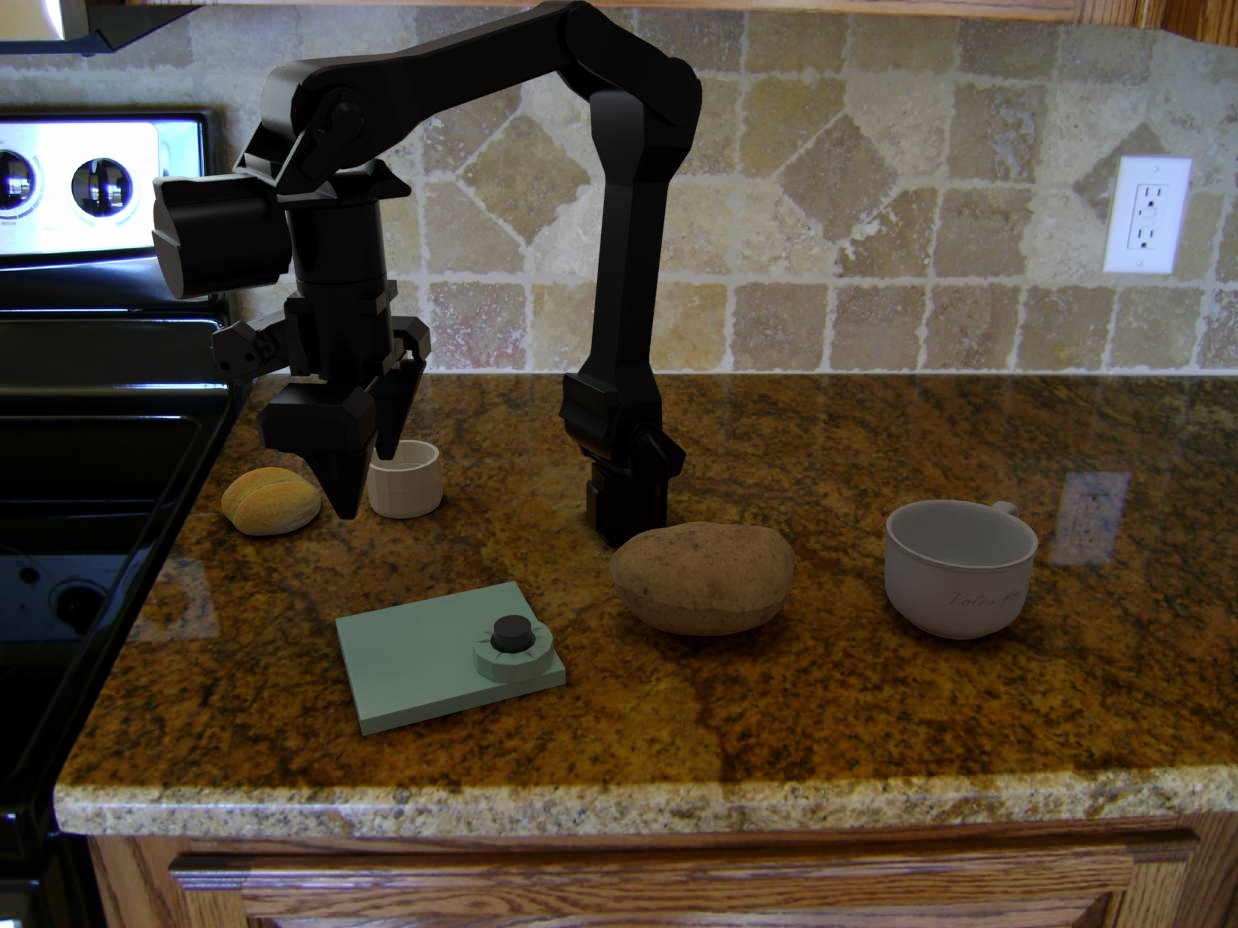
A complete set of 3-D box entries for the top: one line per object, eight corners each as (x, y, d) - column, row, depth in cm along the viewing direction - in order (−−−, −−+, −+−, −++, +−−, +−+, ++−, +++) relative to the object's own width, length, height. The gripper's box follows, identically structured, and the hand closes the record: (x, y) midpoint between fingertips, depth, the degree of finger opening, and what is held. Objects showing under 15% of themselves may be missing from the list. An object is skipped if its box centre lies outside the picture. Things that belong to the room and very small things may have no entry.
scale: (515, 595, 75) (514, 563, 74) (567, 686, 65) (566, 651, 64) (337, 633, 70) (332, 600, 69) (363, 739, 60) (358, 702, 59)
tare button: (525, 629, 67) (524, 611, 66) (536, 649, 65) (536, 631, 64) (490, 637, 66) (489, 619, 65) (500, 658, 64) (499, 639, 63)
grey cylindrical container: (433, 481, 93) (430, 435, 91) (450, 511, 88) (446, 464, 85) (364, 492, 91) (359, 446, 89) (376, 525, 85) (371, 476, 83)
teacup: (953, 675, 67) (973, 581, 63) (844, 602, 75) (857, 514, 71) (1072, 617, 73) (1096, 529, 70) (960, 555, 82) (977, 473, 78)
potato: (605, 590, 76) (606, 504, 73) (775, 586, 77) (784, 501, 73) (611, 665, 67) (612, 571, 64) (803, 660, 68) (814, 567, 65)
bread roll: (250, 549, 81) (243, 509, 79) (214, 511, 87) (206, 472, 85) (339, 519, 86) (334, 481, 84) (299, 485, 92) (293, 448, 90)
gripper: (275, 238, 69) (305, 431, 76) (145, 312, 52) (199, 550, 59) (424, 241, 68) (440, 435, 75) (341, 317, 52) (371, 557, 59)
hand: (368, 487), depth 67 cm, fingers open, 9 cm apart
